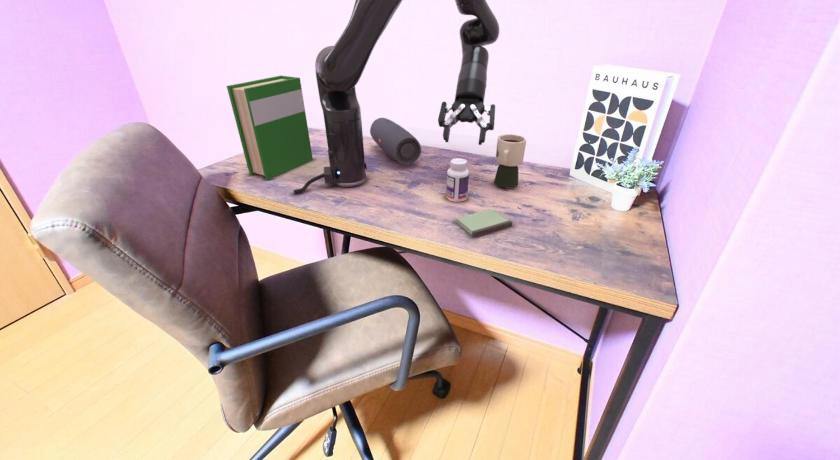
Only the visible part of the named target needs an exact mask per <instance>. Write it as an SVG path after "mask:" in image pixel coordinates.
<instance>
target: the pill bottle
mask: <svg viewBox="0 0 840 460" xmlns="http://www.w3.org/2000/svg"><path fill="white" fill-rule="evenodd" d="M449 166H450V167H449V168H448V169H447V171H446V190H445V191H446V193H445V197H446V199H447V200H449V201H450V202H454V203H455V202H456V203H457V202H458V203H459V202H460V203H461V202H464V201H466V200H467V199H468V195H469V181H470V171H469V169H468V160H467V159H465V158H459V157H458V158H457V157H456V158H452V159H450V165H449Z"/></svg>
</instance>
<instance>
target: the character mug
mask: <svg viewBox="0 0 840 460" xmlns="http://www.w3.org/2000/svg"><path fill="white" fill-rule="evenodd" d="M496 141H497V142H496V151H495V157H494V158H495V162H496V163H498V165H497V168H496V172H495V176H494V181H493V183H494V185H495V186H496V187H499V188H504V189H505V188H506V189H515V188H517V187H518V185H519V166H521V165H522V164H523V163H524V157H525V150H526V145H527V138H526V137H525V136H522V135H519V134H512V133H507V134H501V135H498V136H497V140H496Z"/></svg>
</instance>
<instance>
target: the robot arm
mask: <svg viewBox="0 0 840 460" xmlns="http://www.w3.org/2000/svg"><path fill="white" fill-rule="evenodd" d="M402 2H403V0H355V1H354V5H353V9H352V12H351V15H350V18H349V21H348V23H347V25H346V26H345V28H344V30H343V31H342V33H341V35H340V37H339V38H338V39H337V41H336V42H335V43H334V45H329V46H326V47H324V48H322V49H321V50H320V51H319V52H318V54H317V55H316V59H315V63H314V68H315V70H314V71H315V77H316V85H317V90H318V97H319V102H320V107H321V110H322V115H323V121H324V127H325V128H324V129H325V136H326V143H327V154H328V161H329V166H324V167H323V173H321V174H319V175H317V176H314V177H312V178H311V179H309V180H308V181H306V182H305V183H304V185H303V186H302V187H301V188H298V189H293V193H294V195H295V194H301V193H304V192H305V191H306V190H307V189H308V188H309V186H310V185H312V184H313V183H314V182H316V181H319V180H321V179H323V178H324V184H331V185H332V186H333V187H341V188H352V187H357V186H360V185H363V184H364V183H366V181H367V168H368V167H367V163H366V161H365V160H366V158H365V147H364V136H363V135H364V134H363V123H362V111H361V105H360V103H359V100H358V97H357V92H356V86H357V85H358V83H359V82H360V79H361V77H362V75H363V73H364V70H365V69H366V66H367V64H368V62H369V59H370V57H371V55H372V53H373V51H374V48H375V47H376V44H377V43H378V41H379V39H381V36H382V35H383V33H384V32H385V31H386V29H387V27H388V25H389V23H390V22H391V20H392V18H393V17H394V15H395V13H396V12H397V10H398V9H399V7H400V6H401V4H402ZM454 2H455V5H456V9H457V11H458V13H459V14H460V15H462V16H463V15H464V16H473V17H475V18H472V19H468V20H466V21H464V22H463V23H462V25H461V26H460V28H459V40H460V44H461V64H460V69H459V73H458V76H457V84H456V90H455V96H454V102H453V103H452V104H451V103H447V102H446V101H442V102H441V105H440V109H439V114H438V118H437V122H438V126H439V127H440V128H443V131H442V132H443V133H442V139H443V141H444V142H445V143H449V141H450V136H451V135H450V133H451V128H452V127H453V126H455V125H457V124H458V122H460V123H470V124H473V123H475V124H476V125H477V127H478V128H479V137H478V145H479V146H482V144H484V143H485V142H486V136H487V132H488V131H493V130H494V129H495V118H496V117H495V116H496V105H495V104H494V103H493V104H490V106H489V105H484V103H485V96H486V88H487V81H488V67H489V58H490V54H489V51H488V50H487V48H485V47H484V46H490V45H492V44H494V43H496V42H497V41H498V38H499V36H500V24H499V21H498V20H497V18H496V16H495V14H494V12H493V10H492V9H491V8H490V6H489V3H488V2H487V0H454ZM450 111H452V113H451V114H450V115H449V117H448V118H447V119H446V116H447V114H448V113H449V112H450ZM484 113H486V115H487V116H489V122H486V121H485V120H484V118H483V116H482V115H483V114H484Z"/></svg>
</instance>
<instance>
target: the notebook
mask: <svg viewBox="0 0 840 460" xmlns="http://www.w3.org/2000/svg"><path fill="white" fill-rule="evenodd" d="M455 222H456V224H458V225H459V226H460V227H461V228H462V229H463V230H464V231H465V232H467V234H469V235H470V236H471V237H472V238H476V237H477V238H478V237H481V236H484V235H487V234H491V233H494V232H498V231H501V230H505V229H508V228H511V227H512V226H513V221H512V220H510V219H509V218H508V217H506V216H504V215H503V214H502V213H501V212H499V211H497V210H496V209H495V208H489V209H486V210H482V211H478V212H474V213H470V214H466V215H462V216H458V217H456V221H455Z"/></svg>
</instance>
